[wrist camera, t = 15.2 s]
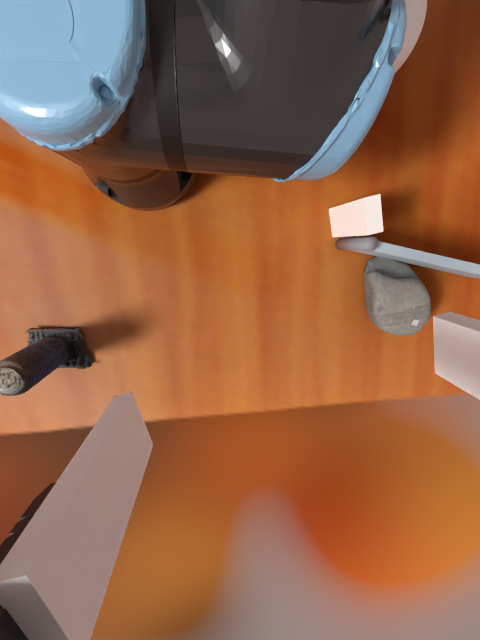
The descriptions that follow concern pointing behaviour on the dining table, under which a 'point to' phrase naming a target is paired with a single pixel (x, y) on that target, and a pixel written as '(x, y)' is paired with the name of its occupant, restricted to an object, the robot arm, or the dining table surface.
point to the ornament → (411, 29)
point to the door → (409, 256)
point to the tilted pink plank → (357, 217)
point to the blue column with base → (42, 358)
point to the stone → (395, 297)
